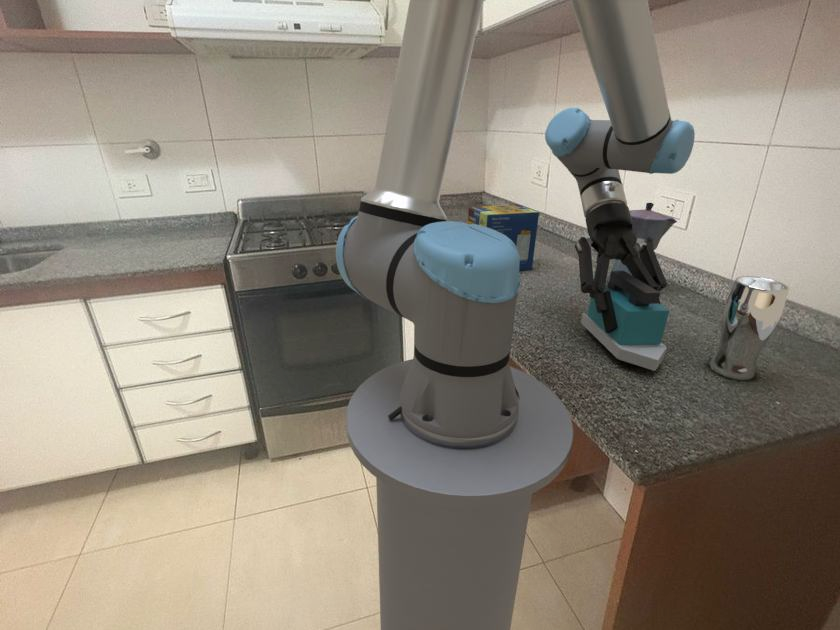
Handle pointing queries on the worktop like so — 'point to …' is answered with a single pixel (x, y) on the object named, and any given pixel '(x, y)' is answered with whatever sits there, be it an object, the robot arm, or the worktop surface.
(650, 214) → the moka pot
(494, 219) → the protein box
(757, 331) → the beer glass
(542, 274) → the worktop surface
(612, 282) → the teal slab with bar
